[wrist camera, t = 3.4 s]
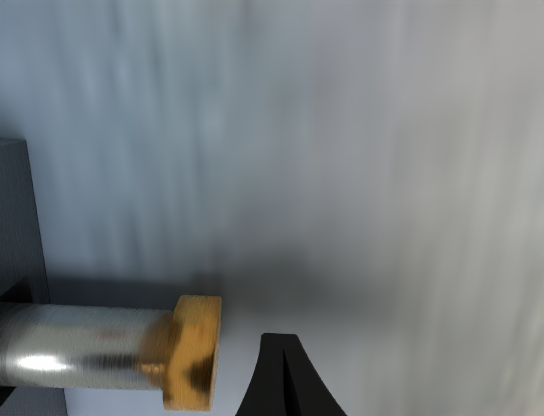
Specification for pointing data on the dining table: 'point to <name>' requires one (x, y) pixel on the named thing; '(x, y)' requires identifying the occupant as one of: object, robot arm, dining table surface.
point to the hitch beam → (22, 270)
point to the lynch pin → (115, 348)
